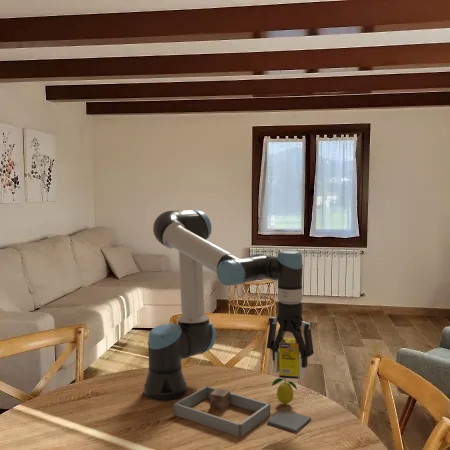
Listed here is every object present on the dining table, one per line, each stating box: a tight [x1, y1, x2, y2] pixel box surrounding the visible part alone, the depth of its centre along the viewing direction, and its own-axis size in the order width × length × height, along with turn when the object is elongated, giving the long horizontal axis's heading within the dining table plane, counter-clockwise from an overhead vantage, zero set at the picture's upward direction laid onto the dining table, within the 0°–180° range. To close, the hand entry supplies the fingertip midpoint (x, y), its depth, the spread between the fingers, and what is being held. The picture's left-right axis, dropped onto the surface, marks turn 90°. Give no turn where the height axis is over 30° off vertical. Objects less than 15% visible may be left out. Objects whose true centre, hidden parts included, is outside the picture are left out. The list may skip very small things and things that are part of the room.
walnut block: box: [209, 387, 231, 412], centre depth 165 cm, size 5×5×5 cm
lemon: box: [271, 377, 298, 406], centre depth 166 cm, size 7×6×10 cm
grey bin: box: [173, 385, 271, 438], centre depth 159 cm, size 26×18×4 cm
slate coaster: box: [266, 409, 312, 433], centre depth 154 cm, size 10×10×1 cm
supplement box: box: [278, 337, 301, 380], centre depth 153 cm, size 6×6×11 cm
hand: (289, 374), depth 153 cm, fingers closed on supplement box, 7 cm apart
